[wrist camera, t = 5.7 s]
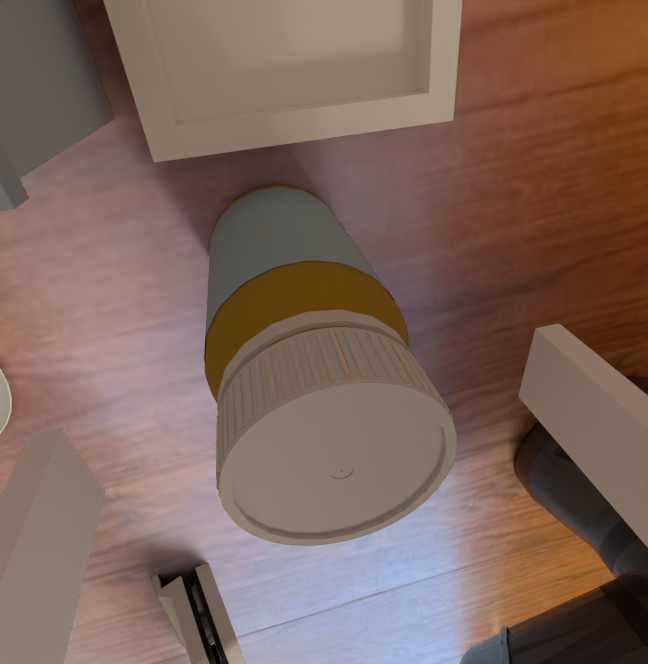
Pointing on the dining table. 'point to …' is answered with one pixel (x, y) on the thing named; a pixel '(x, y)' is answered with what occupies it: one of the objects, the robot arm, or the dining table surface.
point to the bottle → (313, 379)
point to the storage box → (43, 89)
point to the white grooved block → (200, 618)
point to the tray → (284, 69)
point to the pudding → (4, 401)
